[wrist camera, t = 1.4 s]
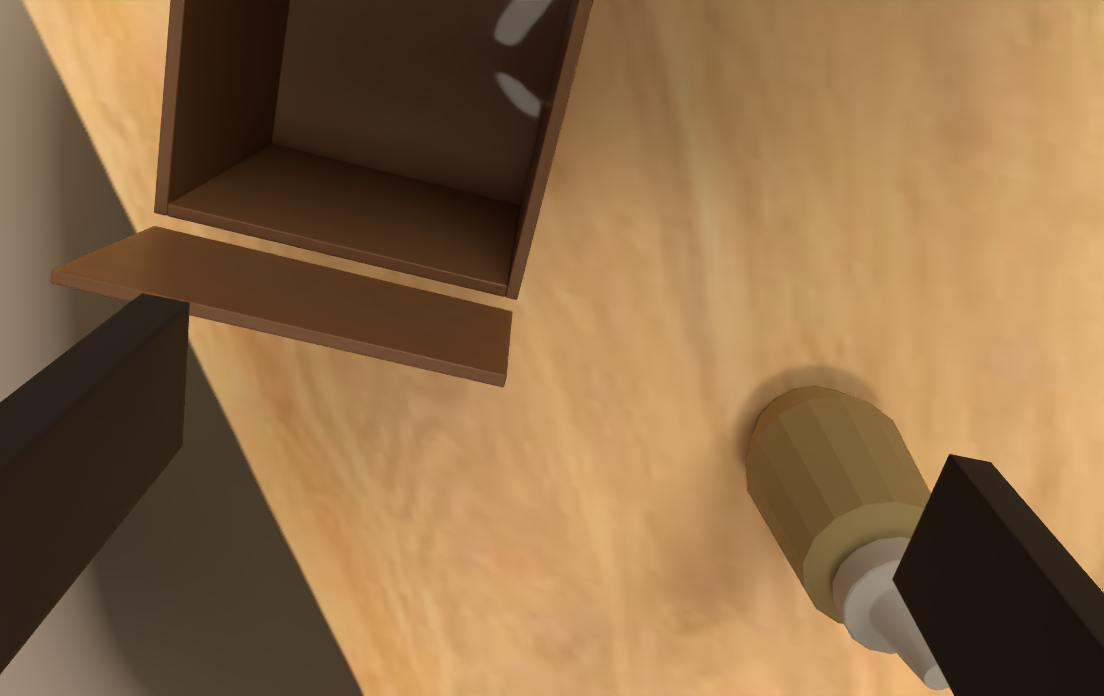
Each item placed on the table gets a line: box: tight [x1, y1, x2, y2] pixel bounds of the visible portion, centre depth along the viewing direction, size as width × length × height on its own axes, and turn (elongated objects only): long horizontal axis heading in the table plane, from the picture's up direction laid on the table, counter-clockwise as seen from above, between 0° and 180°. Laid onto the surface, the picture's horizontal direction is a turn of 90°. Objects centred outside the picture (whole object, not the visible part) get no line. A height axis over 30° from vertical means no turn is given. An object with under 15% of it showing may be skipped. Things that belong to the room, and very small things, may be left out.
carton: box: [51, 0, 593, 387], centre depth 31 cm, size 15×13×19 cm
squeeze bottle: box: [746, 386, 949, 690], centre depth 39 cm, size 8×8×18 cm
